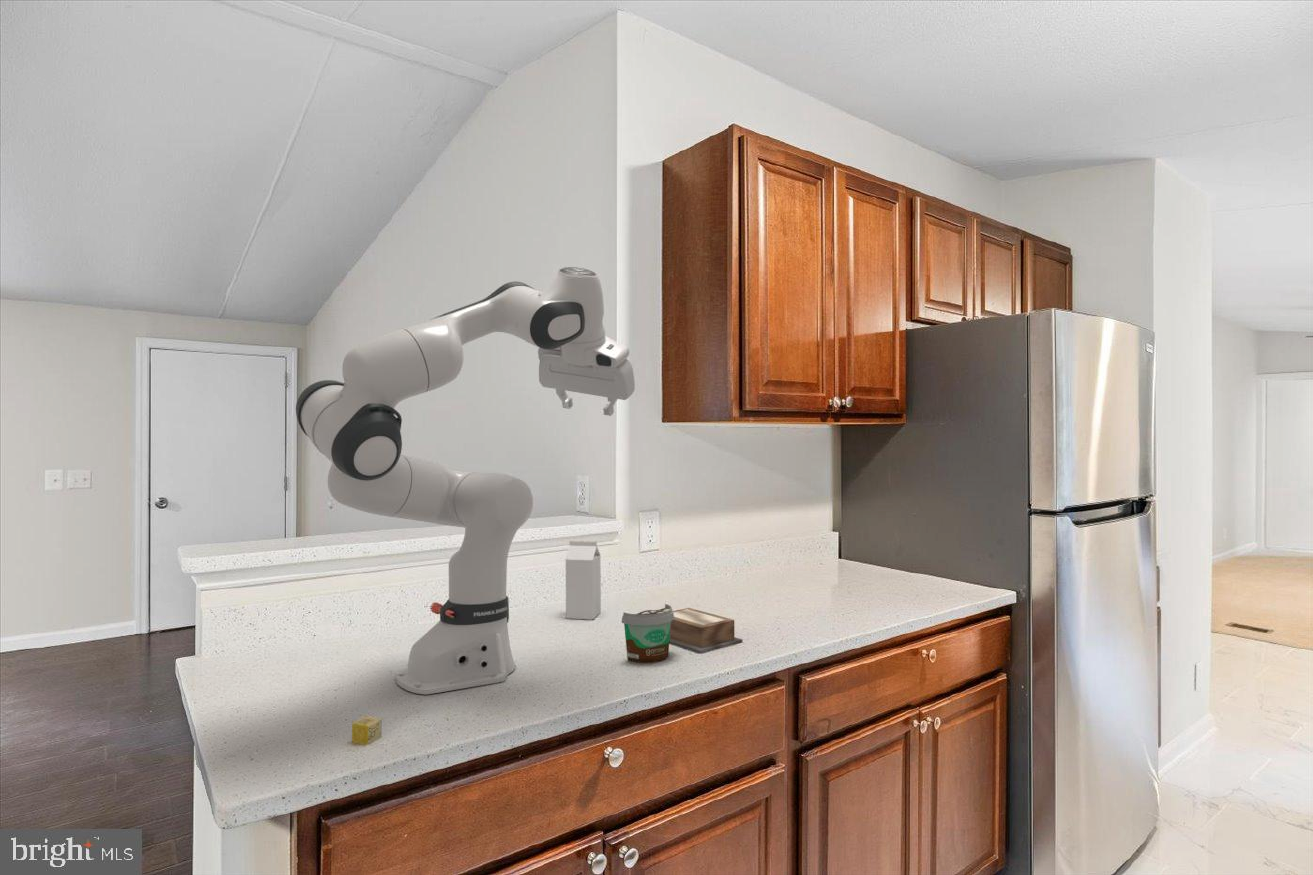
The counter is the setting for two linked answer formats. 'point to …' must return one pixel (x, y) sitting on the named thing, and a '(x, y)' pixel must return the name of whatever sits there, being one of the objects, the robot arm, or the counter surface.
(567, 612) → the milk carton
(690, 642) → the walnut pedestal
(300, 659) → the counter surface
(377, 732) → the alphabet block
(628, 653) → the food container
